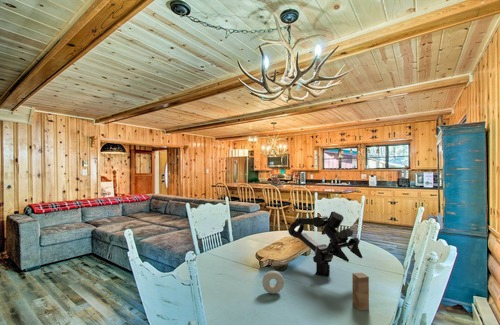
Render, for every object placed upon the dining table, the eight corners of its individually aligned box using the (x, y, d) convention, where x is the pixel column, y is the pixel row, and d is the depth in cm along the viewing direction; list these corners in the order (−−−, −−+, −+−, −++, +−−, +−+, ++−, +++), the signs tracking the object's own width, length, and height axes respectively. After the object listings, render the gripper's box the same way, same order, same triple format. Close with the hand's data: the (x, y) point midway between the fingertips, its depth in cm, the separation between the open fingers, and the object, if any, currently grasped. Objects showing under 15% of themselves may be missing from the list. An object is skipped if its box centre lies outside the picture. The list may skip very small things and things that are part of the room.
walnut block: (352, 304, 102) (352, 273, 103) (362, 303, 103) (361, 272, 103) (359, 310, 98) (358, 277, 98) (368, 309, 99) (368, 276, 99)
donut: (283, 291, 113) (283, 269, 114) (284, 295, 110) (284, 272, 110) (261, 291, 113) (261, 269, 113) (262, 295, 109) (262, 272, 110)
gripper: (326, 225, 119) (348, 250, 107) (353, 221, 127) (376, 244, 115) (317, 241, 124) (338, 267, 112) (343, 236, 132) (365, 260, 120)
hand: (355, 259), depth 115 cm, fingers open, 9 cm apart
